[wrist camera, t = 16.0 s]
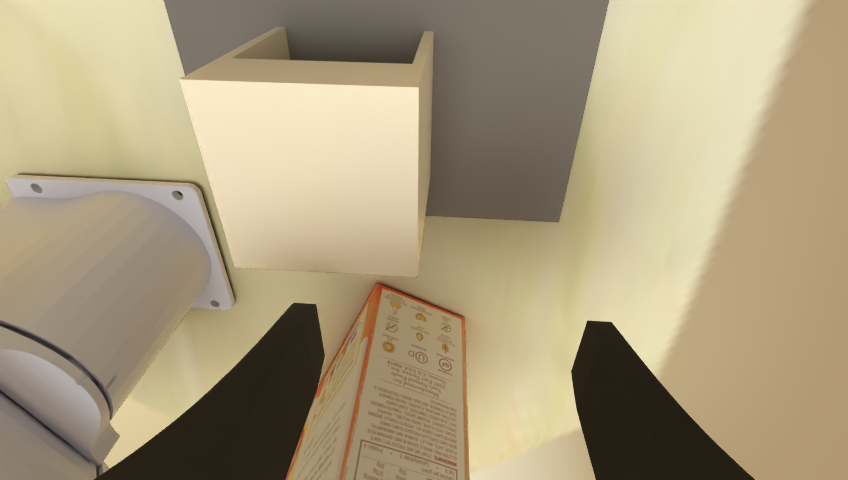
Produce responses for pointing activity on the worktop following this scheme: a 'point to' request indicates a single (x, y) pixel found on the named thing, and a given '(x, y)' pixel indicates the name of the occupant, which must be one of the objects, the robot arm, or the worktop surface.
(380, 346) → the cracker box
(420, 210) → the box
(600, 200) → the worktop surface
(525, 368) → the worktop surface
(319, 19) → the mat
